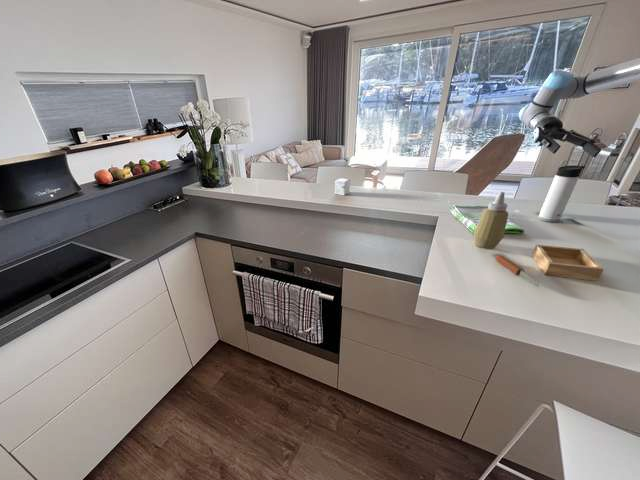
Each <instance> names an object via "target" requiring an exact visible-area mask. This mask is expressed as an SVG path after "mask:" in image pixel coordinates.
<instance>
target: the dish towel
mask: <svg viewBox="0 0 640 480" xmlns="http://www.w3.org/2000/svg"><path fill="white" fill-rule="evenodd" d="M488 206H489V205H458V204H453V206H452V207H451V208H450V210H449V211H450V213H451V214H452V215H453V216H454V217H455V218H456V219H457V220H458V221H459V222H461V223H462V224H463V225H464V226H465V227H466V228H467V229H468V230H469V231H470V232H471V233H473V234H474V232H475V229H476V227H477V225H478V222H479V220H480V218H481V215H482V213H483V211H484V210H485V209H487V208H488ZM524 233H525V230H524V228H522V227H520V226H519V225H517V224H516V223H515V222H513V221H511V220H510V219H509V218H507V223H506V227H505V232H504V234H519V235H520V234H521V235H522V234H524Z"/></svg>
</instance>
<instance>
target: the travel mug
mask: <svg viewBox="0 0 640 480" xmlns="http://www.w3.org/2000/svg"><path fill="white" fill-rule="evenodd" d="M585 167H586V166H584V165H563V166H559V167H558V169H557V171H556V173H555V175H554V178H553V179H552V182H551V185H550V187H549V190H548V192H547V195H546V197H545V200H544V202H543V205H542V207H541V209H540V212H539V214H538V217H537V218H538V220H540V221H542V222H546V223H559V222H560V220H561V218H562V216H563V214H564V212H565V209H566V207H567V205H568V203H569V200H570V198H571V197H572V194H573V192H574V190H575V187H576V185H577V183H578V181H579V178H580V175H581V173H582V172H583V170H585Z"/></svg>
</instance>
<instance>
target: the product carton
mask: <svg viewBox="0 0 640 480" xmlns="http://www.w3.org/2000/svg"><path fill="white" fill-rule="evenodd" d="M350 188H351V179H349V178H343V177H342V178H340V177H339V178H338V179H336V180H335V181H334V194H335V195H338V196H339V195H340V196H346V195H347V194H349V193H350V190H351V189H350Z"/></svg>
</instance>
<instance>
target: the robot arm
mask: <svg viewBox="0 0 640 480" xmlns="http://www.w3.org/2000/svg"><path fill="white" fill-rule="evenodd" d="M638 82H640V57H637V58H633V59H629V60H627V61H623V62H620V63H618V64H617V63H616V64H614V65H611V66H607V67H605V68H601V69H598V70H595V71H592V72H588V73H585V74H581V75H577V76H574V74H573V73H571V72H568V71H562V70H554V71H552V72H551V73H550V74H549V75H548V77H547V78H546V80H545V81H544V82H543V84H542V85H541V87H540V89H539V90H538V92H537V93H536V94H535V97H534V98H533V100H532V101H531V102H529V103H527V104H525V105H524V106H523V107H522V108H521V109H520V111H519V113H518V119H519V120H520V121H521V123H522V124H523V125H524V126H526V127H527V128H528V129H529V130H530V131H532V134H533V143H534V144H537V146H539V147H543V146H544V147H545V148H546V149H547V150H548V151H549V152H550V153H552V154H554V155H555V154H556V153H557V152H558V151H559V150H560V148H561V147H562V146H561V145H560V144H559V143H558V142H556V141H560V142H563V143H565V142H567V143H570V144H572V145H575V146H578V147H581V149H582V150H583V151H584V152H585V153H587V154H588V155H589V156H591V157H592V158H596V157H597V156H598V155H599V154H600V153H601V152H602V149H601V148H600V147H599V146H597V144H596V143H597V140H596V139H595V138H591V137H588V136H586V135H583V134H582V133H579V132H577V131H576V130H574V129H570V130H568V129H566V128H564V123H563V121H562V120H561V119H559V118H558V117H557V116H556V115H554V114H553V113H551V111H552V109H553V108H554V107H555V105H556V104H557V102H558V101H559V100H568V99H580V98H582V97H585V96H587V95H591V94H595V93H598V92H602V91H606V90H610V89H614V88H618V87H622V86H626V85H630V84H635V83H638Z"/></svg>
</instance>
